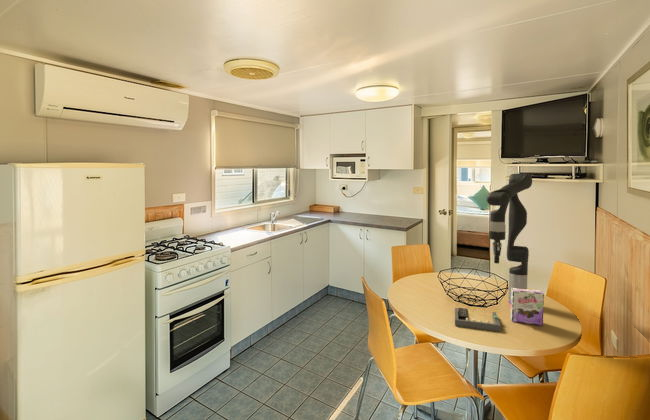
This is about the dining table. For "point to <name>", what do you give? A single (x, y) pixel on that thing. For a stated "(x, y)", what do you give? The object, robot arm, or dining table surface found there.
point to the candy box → (527, 306)
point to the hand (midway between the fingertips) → (496, 263)
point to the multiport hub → (462, 313)
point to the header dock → (478, 323)
